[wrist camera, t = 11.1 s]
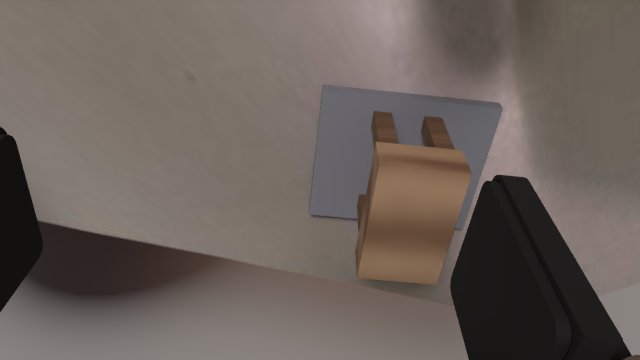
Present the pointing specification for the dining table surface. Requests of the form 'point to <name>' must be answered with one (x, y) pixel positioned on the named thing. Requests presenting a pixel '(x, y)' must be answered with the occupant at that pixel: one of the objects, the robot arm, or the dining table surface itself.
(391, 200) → the footstool
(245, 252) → the dining table surface
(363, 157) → the mat
